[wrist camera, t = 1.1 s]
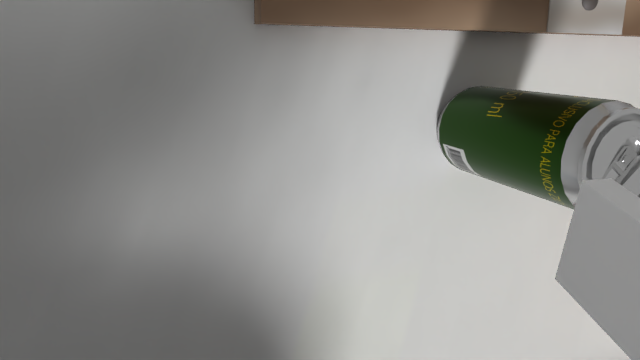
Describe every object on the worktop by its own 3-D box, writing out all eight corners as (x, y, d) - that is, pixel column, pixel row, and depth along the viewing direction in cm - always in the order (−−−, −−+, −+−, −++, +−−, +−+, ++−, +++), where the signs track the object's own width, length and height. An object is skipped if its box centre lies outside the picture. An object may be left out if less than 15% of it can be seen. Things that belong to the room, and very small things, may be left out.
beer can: (469, 184, 37) (620, 242, 26) (416, 136, 35) (556, 177, 24) (518, 120, 37) (688, 150, 26) (468, 67, 35) (630, 77, 24)
